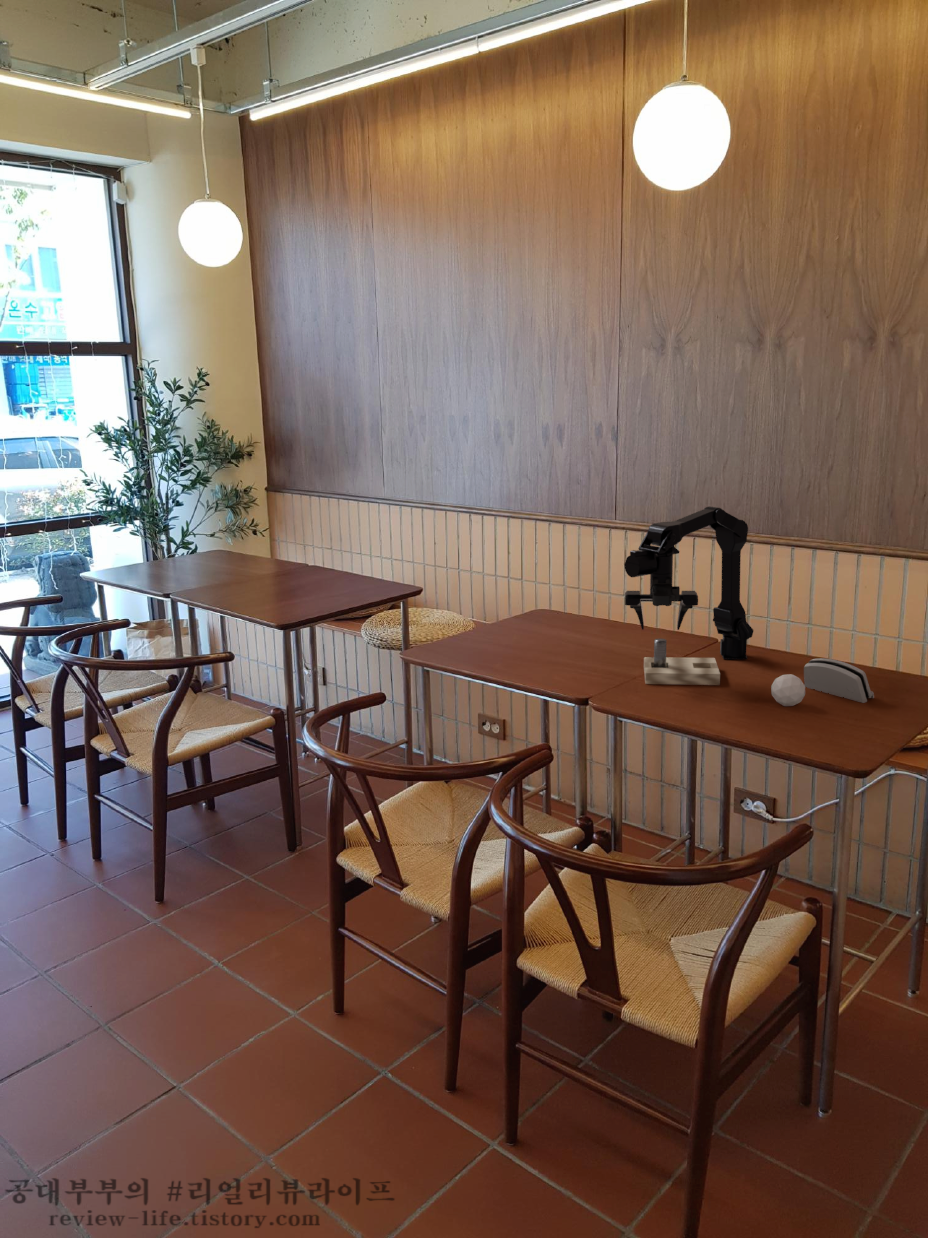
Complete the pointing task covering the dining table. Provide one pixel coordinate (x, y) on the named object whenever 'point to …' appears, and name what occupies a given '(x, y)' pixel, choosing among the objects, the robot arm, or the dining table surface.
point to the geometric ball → (788, 690)
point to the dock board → (682, 671)
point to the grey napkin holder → (837, 679)
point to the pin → (660, 653)
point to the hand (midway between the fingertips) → (660, 629)
